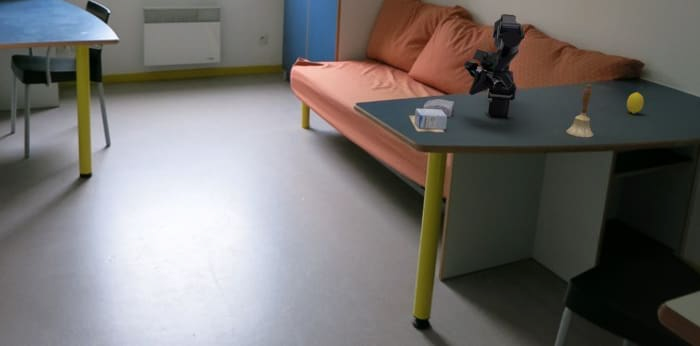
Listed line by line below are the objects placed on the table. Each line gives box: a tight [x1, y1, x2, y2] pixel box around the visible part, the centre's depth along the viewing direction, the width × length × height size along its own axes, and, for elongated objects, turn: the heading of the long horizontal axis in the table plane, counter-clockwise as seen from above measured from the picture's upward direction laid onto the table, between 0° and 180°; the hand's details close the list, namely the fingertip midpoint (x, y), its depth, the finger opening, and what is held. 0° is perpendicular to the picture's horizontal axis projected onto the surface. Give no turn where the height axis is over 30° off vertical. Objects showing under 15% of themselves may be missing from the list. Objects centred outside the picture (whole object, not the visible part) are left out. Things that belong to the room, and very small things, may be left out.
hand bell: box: [565, 84, 594, 139], centre depth 230 cm, size 8×8×16 cm
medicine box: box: [414, 108, 448, 130], centre depth 228 cm, size 8×4×9 cm
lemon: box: [626, 91, 645, 115], centre depth 261 cm, size 6×6×8 cm
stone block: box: [422, 98, 455, 118], centre depth 247 cm, size 12×5×10 cm
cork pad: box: [408, 115, 445, 134], centre depth 231 cm, size 8×17×1 cm, turn 4°
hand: (470, 94), depth 230 cm, fingers closed
